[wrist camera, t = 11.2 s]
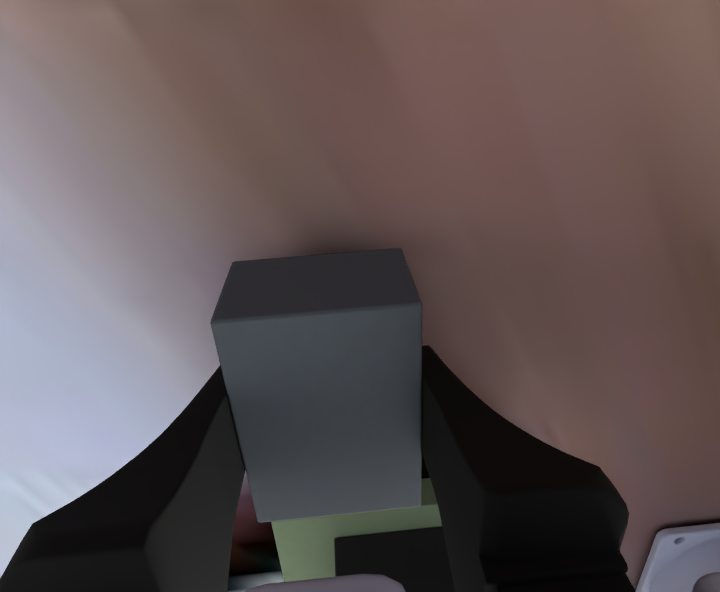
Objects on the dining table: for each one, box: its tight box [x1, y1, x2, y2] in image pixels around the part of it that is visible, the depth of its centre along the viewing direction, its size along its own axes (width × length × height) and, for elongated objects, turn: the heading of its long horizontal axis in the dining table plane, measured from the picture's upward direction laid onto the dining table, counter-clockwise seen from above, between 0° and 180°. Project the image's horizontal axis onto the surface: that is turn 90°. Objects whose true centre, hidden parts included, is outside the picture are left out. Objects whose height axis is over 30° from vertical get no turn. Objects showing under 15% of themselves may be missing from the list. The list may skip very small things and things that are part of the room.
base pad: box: [271, 478, 442, 582], centre depth 23 cm, size 10×10×1 cm
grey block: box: [211, 248, 422, 522], centre depth 15 cm, size 5×7×3 cm
